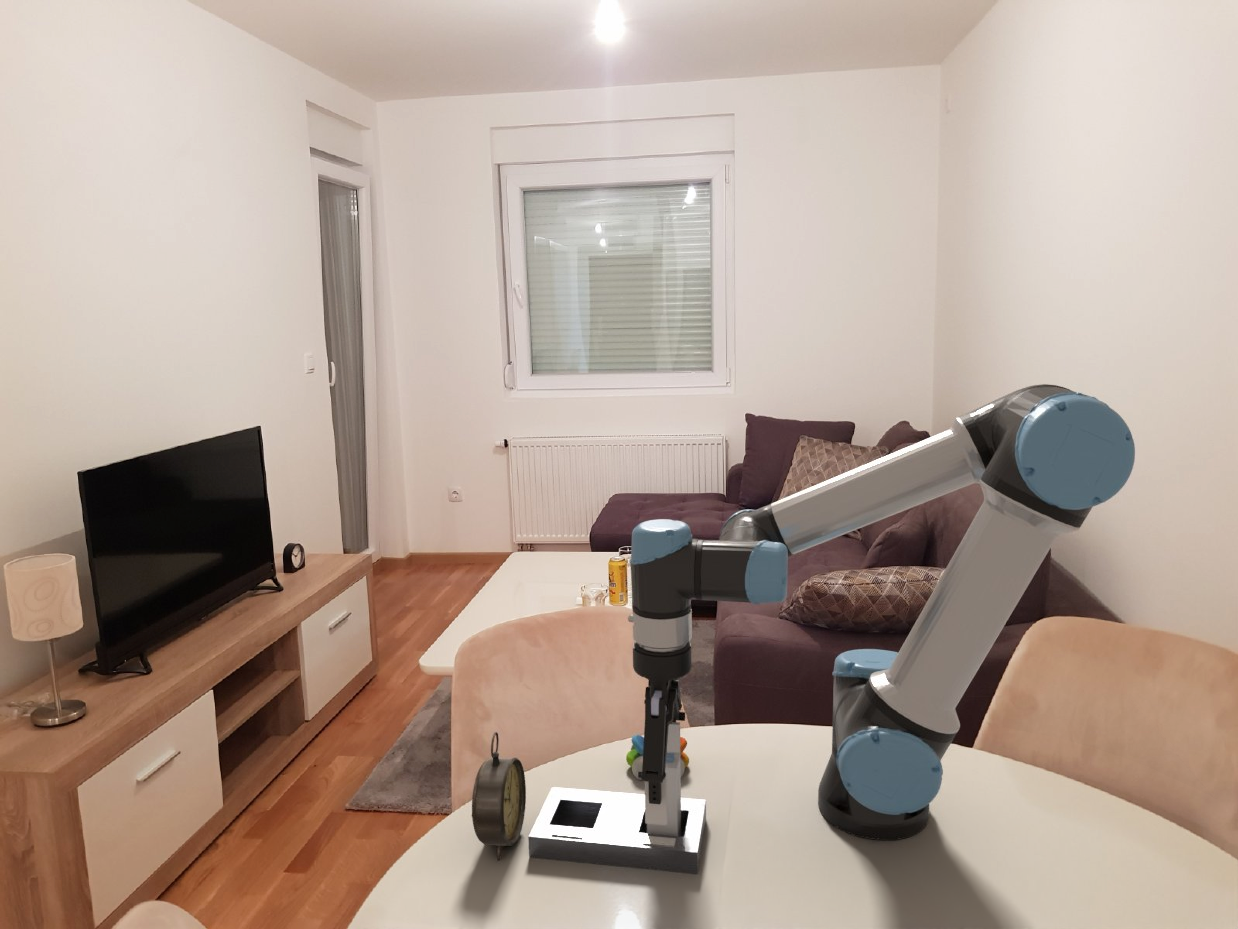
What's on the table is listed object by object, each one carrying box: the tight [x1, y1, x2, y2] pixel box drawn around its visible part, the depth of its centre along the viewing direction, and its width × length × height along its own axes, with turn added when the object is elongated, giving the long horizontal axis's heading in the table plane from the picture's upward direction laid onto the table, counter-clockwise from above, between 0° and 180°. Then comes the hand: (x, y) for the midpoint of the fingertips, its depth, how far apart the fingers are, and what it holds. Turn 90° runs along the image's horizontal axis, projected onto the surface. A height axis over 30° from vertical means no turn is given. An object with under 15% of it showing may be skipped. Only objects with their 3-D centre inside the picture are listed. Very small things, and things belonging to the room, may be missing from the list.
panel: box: [528, 786, 707, 875], centre depth 119 cm, size 22×12×4 cm, turn 79°
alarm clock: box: [471, 731, 527, 862], centre depth 118 cm, size 11×5×16 cm, turn 171°
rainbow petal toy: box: [625, 734, 690, 781], centre depth 137 cm, size 8×10×7 cm
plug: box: [647, 752, 682, 837], centre depth 117 cm, size 4×4×13 cm
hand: (663, 793), depth 117 cm, fingers open, 13 cm apart
